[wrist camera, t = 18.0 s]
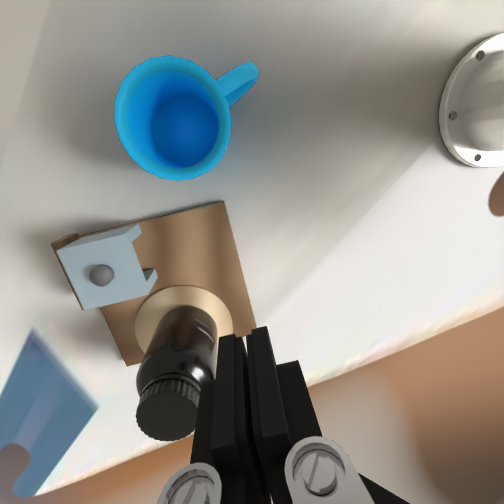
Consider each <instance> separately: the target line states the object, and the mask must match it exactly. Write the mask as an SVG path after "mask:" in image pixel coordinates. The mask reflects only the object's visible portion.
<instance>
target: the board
mask: <svg viewBox="0 0 504 504" xmlns="http://www.w3.org/2000/svg"><path fill="white" fill-rule="evenodd" d="M135 224H139V226H140V229H141V232H142V233H141V234H140V235H139V236H138V237H137V238H136V239H135V240H134V241H132V245H133V248H134V250H135V253H136V255H137V258H138V261H139V263H140V266H141V269H142V271H143V272H144V271H148V270H152V269H155V270H156V273H157V276H158V278H157V280H156V282H155V283H154V285H153V287H152V289H151V290H150V292H149V294H148V295H146V296H142V297H138V298H134V299H130V300H126V301H122V302H118V303H114V304H110V305H106V306H102V307H100V308H101V310H102V312H103V315H104V317H105V319H106V321H107V324H108V326H109V328H110V330H111V332H112V335H113V337H114V339H115V341H116V343H117V346H118V348H119V350H120V352H121V355H122V357H123V359H124V361H125V363H126V366H130V365H134V364H138V363H142V360H143V358H144V356H145V353H146V351H147V349H148V346H149V344H150V342H151V339H152V337H153V335H154V332H155V330H156V328H157V326H158V324H159V322H160V320H161V318H162V317H163V316H164V315H165V314H166V313H167V312H169V311H170V310H172V309H174V308H177V307H181V306H193V307H197V308H200V309H202V310H204V311H206V312H207V313H208V314H209V315H210V316H211V317H212V318H213V319H214V321H215V323H216V326H217V332H218V340H217V353H218V341H219V337H221V336H225V335H230V334H234V333H235V335H236V337H240V336H242V337H244V336H246V335H249V334H252V332H251V329H256V328H257V327H256V323H255V319H254V315H253V312H252V308H251V304H250V300H249V296H248V292H247V288H246V284H245V281H244V277H243V273H242V269H241V265H240V261H239V257H238V254H237V250H236V246H235V242H234V238H233V234H232V230H231V227H230V223H229V219H228V215H227V211H226V207H225V203H224V201H221V202H217V203H213V204H209V205H205V206H201V207H197V208H193V209H189V210H184V211H180V212H176V213H172V214H168V215H164V216H160V217H156V218H152V219H148V220H144V221H139V222H135V223H131V224H127V225H123V226H119V227H115V228H111V229H107V230H103V231H99V232H94V233H90V234H86V235H82V236H79V235H78V233H76V234H71V235H68V236H65V237H63V238H61V239H59V240H57V241H55V242H53V243H51V245H52V247H53V250H54V252H55V254H56V256H57V258H58V260H59V262H60V264H61V266H62V268H63V271H64V273H65V275H66V277H67V279H68V281H69V283H70V285H71V287H72V289H73V292H74V294H75V296H76V298H77V300H78V302H79V304H80V306H81V308H82V310H84V309H83V306H82V304H81V302H80V300H79V298H78V296H77V294H76V292H75V290H74V287H73V285H72V283H71V281H70V279H69V277H68V275H67V273H66V271H65V268H64V266H63V264H62V262H61V260H60V258H59V256H58V254H57V252H56V251H57V250H58V249H60V248H62V247H64V246H66V245H68V244H70V243H72V242H73V241H75V240H77V239H79V238H82V237H86V236H90V235H94V234H98V233H102V232H107V231H111V230H115V229H119V228H123V227H127V226H131V225H135Z"/></svg>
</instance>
